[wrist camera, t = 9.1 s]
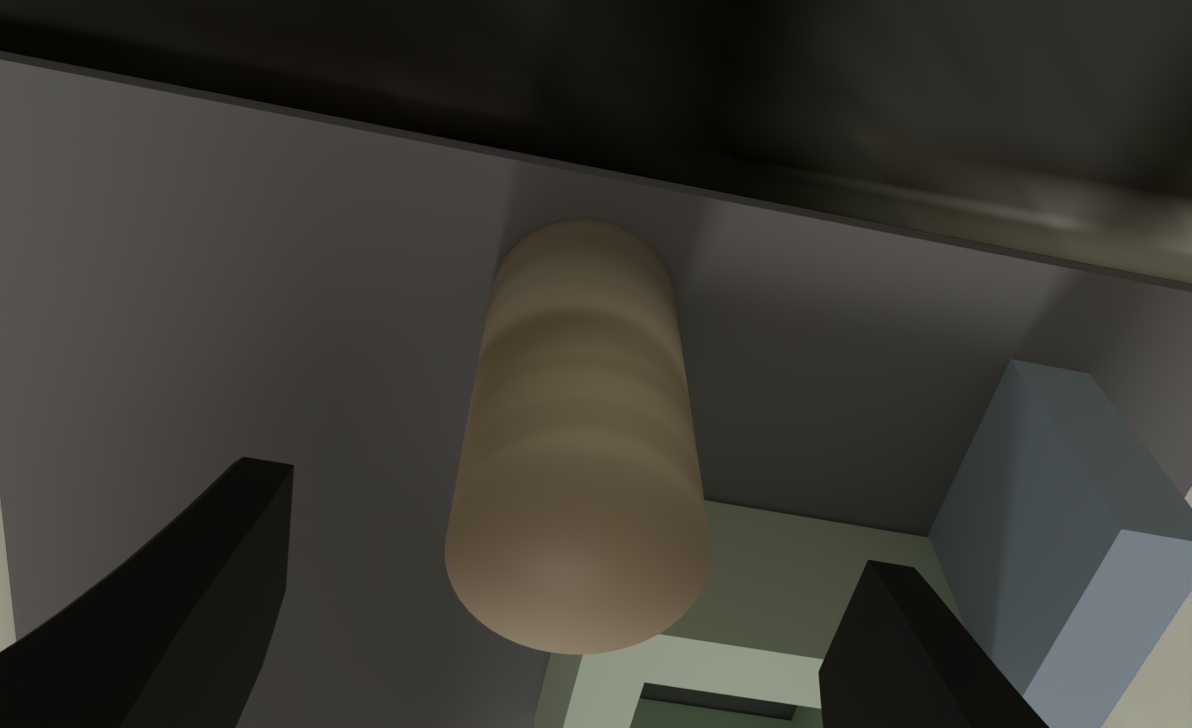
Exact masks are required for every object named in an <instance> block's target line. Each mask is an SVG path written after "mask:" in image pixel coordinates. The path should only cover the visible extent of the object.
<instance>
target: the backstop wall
mask: <svg viewBox="0 0 1192 728" xmlns="http://www.w3.org/2000/svg"><path fill="white" fill-rule="evenodd" d="M927 537H928V538H930V541H931V543H932V546H933V548H934V551H935V553H936V556H937V558H938V561H939V563H940V566H941V568H942V571H943V573H944V576H945V578H946V581H947V583H948V585H949V588H950V590H951V593H952V595H953V598H954V600H955V603H956V605H957V608H958V610H959V613H960V615H961V618H962V620H963V623H964V625H965V628H966V630H967V631H968V632H969V634H970V635H971V636H972V637H973V638H974V640H975V641H976V642H977V643H978V645H979V646H980V647H981V648H982V649H983V651H984V652H985V653H986V654H987V656H988V657H989V658H990V659H991V660H992V662H993V663H994V664H995V665H996V666H997V668H998V669H999V670H1000V671H1001V672H1002V674H1003V675H1004V676H1005V677H1006V678H1007V679H1008V681H1009V682H1010V683H1011V684H1012V685H1013V687H1014V688H1015V689H1016V690H1017V691H1018V692H1019V694H1020V695H1021V696H1022V697H1023V698H1024V699H1025V700H1026V702H1027V703H1028V704H1029V705H1030V706H1031V707H1032V708H1033V710H1034V711H1035V712H1036V713H1037V714H1038V715H1039V716H1040V717H1041V719H1042V720H1043V721H1044V722H1045V723H1046V724H1047V725H1048V726H1049V728H1101V726H1102V725H1103V723H1104V722H1105V720H1106V719H1107V717H1108V716H1109V714H1110V713H1111V711H1112V710H1113V708H1114V707H1115V705H1116V704H1117V702H1118V701H1119V699H1120V698H1121V696H1122V695H1123V693H1124V692H1125V690H1126V688H1127V687H1128V685H1129V684H1130V682H1131V681H1132V679H1133V678H1134V676H1135V675H1136V673H1137V672H1138V670H1139V669H1140V667H1141V666H1142V664H1143V663H1144V661H1145V660H1146V658H1147V657H1148V655H1149V654H1150V652H1151V651H1152V649H1153V648H1154V646H1155V645H1156V643H1157V642H1158V640H1159V639H1160V637H1161V635H1162V634H1163V632H1164V631H1165V629H1166V628H1167V626H1168V625H1169V623H1170V622H1171V620H1172V619H1173V617H1174V616H1175V614H1176V613H1177V611H1178V610H1179V608H1180V607H1181V605H1182V604H1183V602H1184V601H1185V599H1186V598H1187V596H1188V595H1189V593H1190V592H1191V590H1192V508H1191V507H1190V505H1189V504H1188V503H1187V501H1186V500H1185V499H1184V497H1183V496H1182V495H1181V493H1180V492H1179V491H1178V490H1177V488H1176V487H1175V486H1174V484H1173V483H1172V482H1171V480H1170V479H1169V478H1168V476H1167V475H1166V474H1165V472H1164V471H1163V470H1162V468H1161V467H1160V466H1159V465H1158V463H1157V462H1156V461H1155V459H1154V458H1153V457H1152V455H1151V454H1150V453H1149V451H1148V450H1147V449H1146V447H1145V446H1144V445H1143V443H1142V442H1141V441H1140V439H1139V438H1138V437H1137V436H1136V434H1135V433H1134V432H1133V430H1132V429H1131V428H1130V426H1129V425H1128V424H1127V422H1126V421H1125V420H1124V418H1123V417H1122V416H1121V414H1120V413H1119V412H1118V410H1117V409H1116V408H1115V407H1114V405H1113V404H1112V403H1111V401H1110V400H1109V399H1108V397H1107V396H1106V395H1105V393H1104V392H1103V391H1102V389H1101V388H1100V387H1099V385H1098V384H1097V383H1096V382H1095V380H1094V379H1093V378H1092V376H1091V375H1090V374H1089V373H1084V372H1078V371H1073V370H1068V369H1062V368H1057V367H1051V366H1046V365H1041V364H1035V363H1030V362H1024V361H1019V360H1014V359H1010V362H1009V364H1008V366H1007V368H1006V370H1005V372H1004V374H1003V376H1002V379H1001V381H1000V383H999V385H998V387H997V389H996V391H995V393H994V396H993V398H992V400H991V402H990V404H989V406H988V408H987V410H986V413H985V415H984V417H983V419H982V421H981V423H980V425H979V427H978V429H977V432H976V434H975V436H974V438H973V440H972V442H971V444H970V446H969V449H968V451H967V453H966V455H965V457H964V459H963V461H962V463H961V466H960V468H959V470H958V472H957V474H956V476H955V478H954V480H953V483H952V485H951V487H950V489H949V491H948V493H947V495H946V497H945V500H944V502H943V504H942V506H941V508H940V510H939V512H938V514H937V517H936V519H935V521H934V523H933V525H932V527H931V529H930V531H929V534H928V536H927Z"/></svg>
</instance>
